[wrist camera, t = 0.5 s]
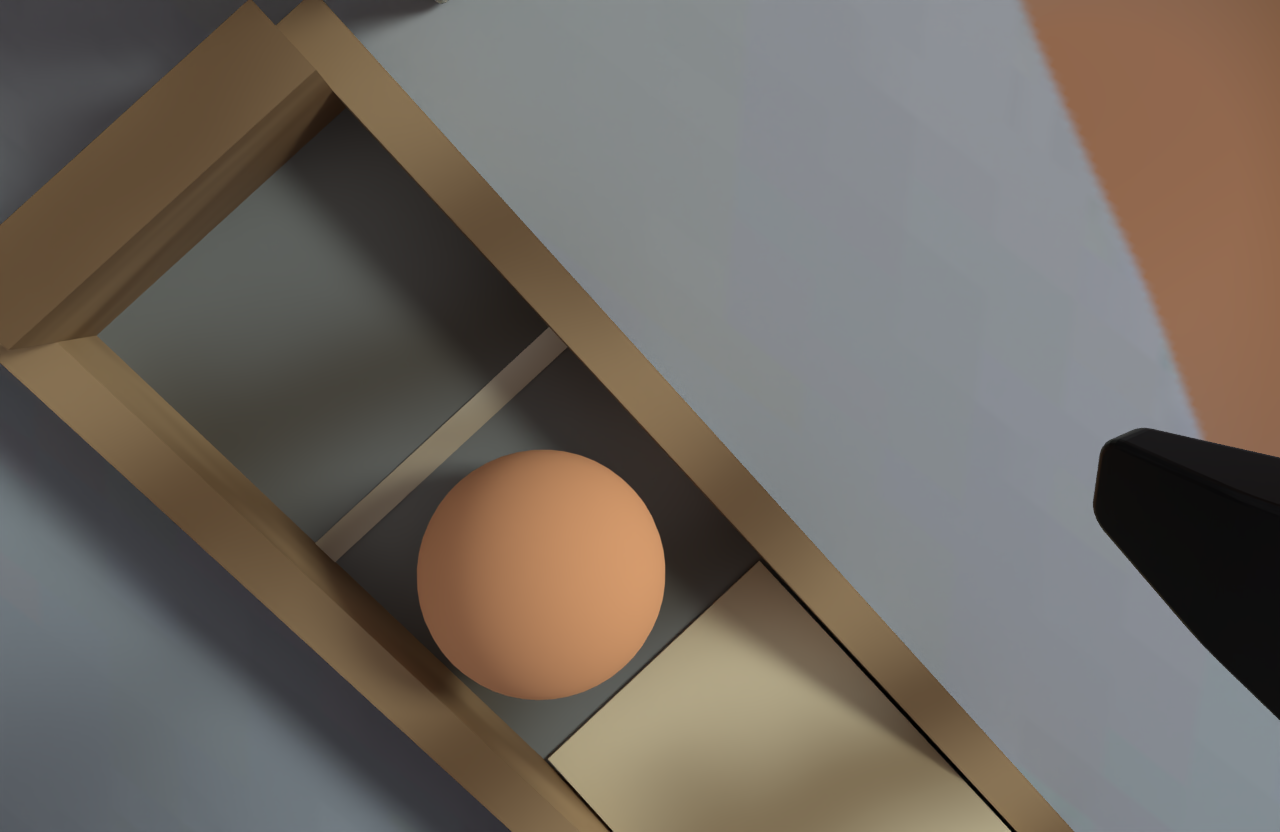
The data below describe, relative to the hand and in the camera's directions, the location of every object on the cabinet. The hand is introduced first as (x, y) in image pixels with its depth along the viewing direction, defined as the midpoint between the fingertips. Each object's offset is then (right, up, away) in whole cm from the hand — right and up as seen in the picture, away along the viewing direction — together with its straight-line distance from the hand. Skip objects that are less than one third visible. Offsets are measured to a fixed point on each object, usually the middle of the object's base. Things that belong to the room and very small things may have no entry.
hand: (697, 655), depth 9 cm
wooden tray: (-1, -2, +15) cm, 15 cm away
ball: (-3, -1, +12) cm, 12 cm away
